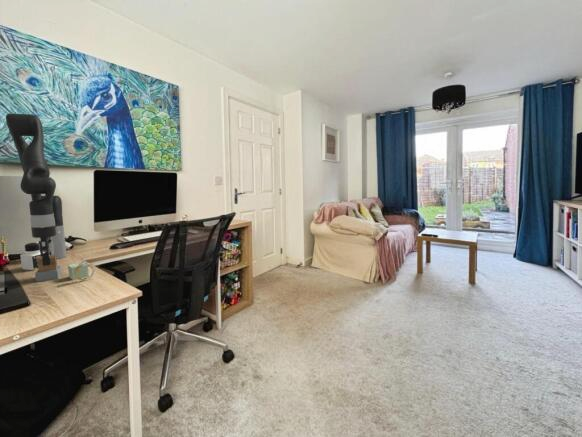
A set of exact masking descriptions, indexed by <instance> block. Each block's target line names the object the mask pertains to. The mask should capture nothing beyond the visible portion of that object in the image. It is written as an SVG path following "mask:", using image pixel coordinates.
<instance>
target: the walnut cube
mask: <svg viewBox="0 0 582 437" xmlns="http://www.w3.org/2000/svg"><path fill="white" fill-rule="evenodd" d="M49 257H50V265H47V266H43V261H42V257H41V256H39V257H38V259H37V261H38V270H39V272H46V271H52V270H57V266H58V261H57V260H58V259H56V255H50V256H49Z"/></svg>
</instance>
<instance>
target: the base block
mask: <svg viewBox="0 0 582 437" xmlns="http://www.w3.org/2000/svg"><path fill="white" fill-rule="evenodd" d="M62 274H63V273H62V266H61V265H59V266H58V265H57V270H52V271H46V272H39V269H38V270H36V271H35V272H34V276H35V282H36V283H37V282H46V281H53V280H59V279H60V277H61V276H62Z"/></svg>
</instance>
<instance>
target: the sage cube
mask: <svg viewBox="0 0 582 437" xmlns="http://www.w3.org/2000/svg"><path fill="white" fill-rule="evenodd" d="M81 262H82V263H83V262H84V261H81ZM81 262H77V263H73V264H68V265H67V272H68V277H69V278H70V280H72V281H76V280H78V279H77V278H76V277H75V276H74V270H75V268H76V266H77V265H78V264H80V263H81ZM76 275H77V277H79V278H81V279H84V278H88V277H89V276H90V275H89V266H87V265H85V266H82V267H81V268H80V269H79V270H78V271H77V273H76Z"/></svg>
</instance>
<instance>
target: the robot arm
mask: <svg viewBox="0 0 582 437" xmlns="http://www.w3.org/2000/svg"><path fill="white" fill-rule="evenodd" d="M5 122H6V125H7V128H8V131H9V133H10V136H11V139H12V140H13V142H14V145H15V148H16V151H17V154H18V158H19V161H20V165H21V168H22V171H23V175H22V177H21V180H20V189H21V191H22V192H23V193H24V194H26V195H30V197H31V201H29V204H28V205H29V213H30V215H29V216H30V229H31V237H32V238H34V239H40V240H38V241H37V242H38V244H39V250H40V254H41V255H40V256H41V257H42V261H43V266H47V265H50V257H49V256H50V255H56V259H57V260H58V259H63V258H65V257H67V248H66V247H67V246H66V237H65V230H64V229H65V228H64V218H63V201H62V198H61V197H60V196H59V195H55V191H56V188H57V185H56V184H57V183H56V181H55V180H54V179H53V178H52V177H50V175H51V172H50V168H49V165H48V162H47V160H46V158H45V148H44V147H45V140H44V128H43V123H42V121H41V118H40V117H39V116H38V115H37V114H31V113H30V114H29V113H25V114H24V113H7V114H6V115H5ZM24 137H33V138H32V140H31V142H30V143H29V144H28V143H27V141H25V139H24ZM43 252H44V253H43Z"/></svg>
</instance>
